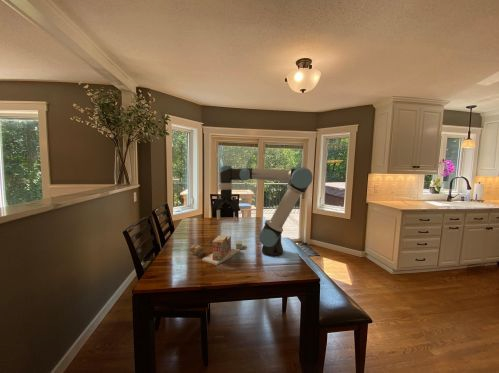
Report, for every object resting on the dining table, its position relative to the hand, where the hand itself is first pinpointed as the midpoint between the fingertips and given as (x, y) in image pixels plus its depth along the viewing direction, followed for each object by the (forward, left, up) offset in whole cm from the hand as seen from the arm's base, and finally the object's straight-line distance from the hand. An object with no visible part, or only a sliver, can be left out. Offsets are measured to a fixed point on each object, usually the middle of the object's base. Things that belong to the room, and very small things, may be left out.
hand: (226, 220), depth 154 cm
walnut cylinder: (+12, +11, -24) cm, 29 cm away
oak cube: (+19, +10, -24) cm, 32 cm away
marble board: (+1, +3, -24) cm, 24 cm away
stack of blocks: (+1, +3, -23) cm, 23 cm away
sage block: (0, -16, -24) cm, 29 cm away
